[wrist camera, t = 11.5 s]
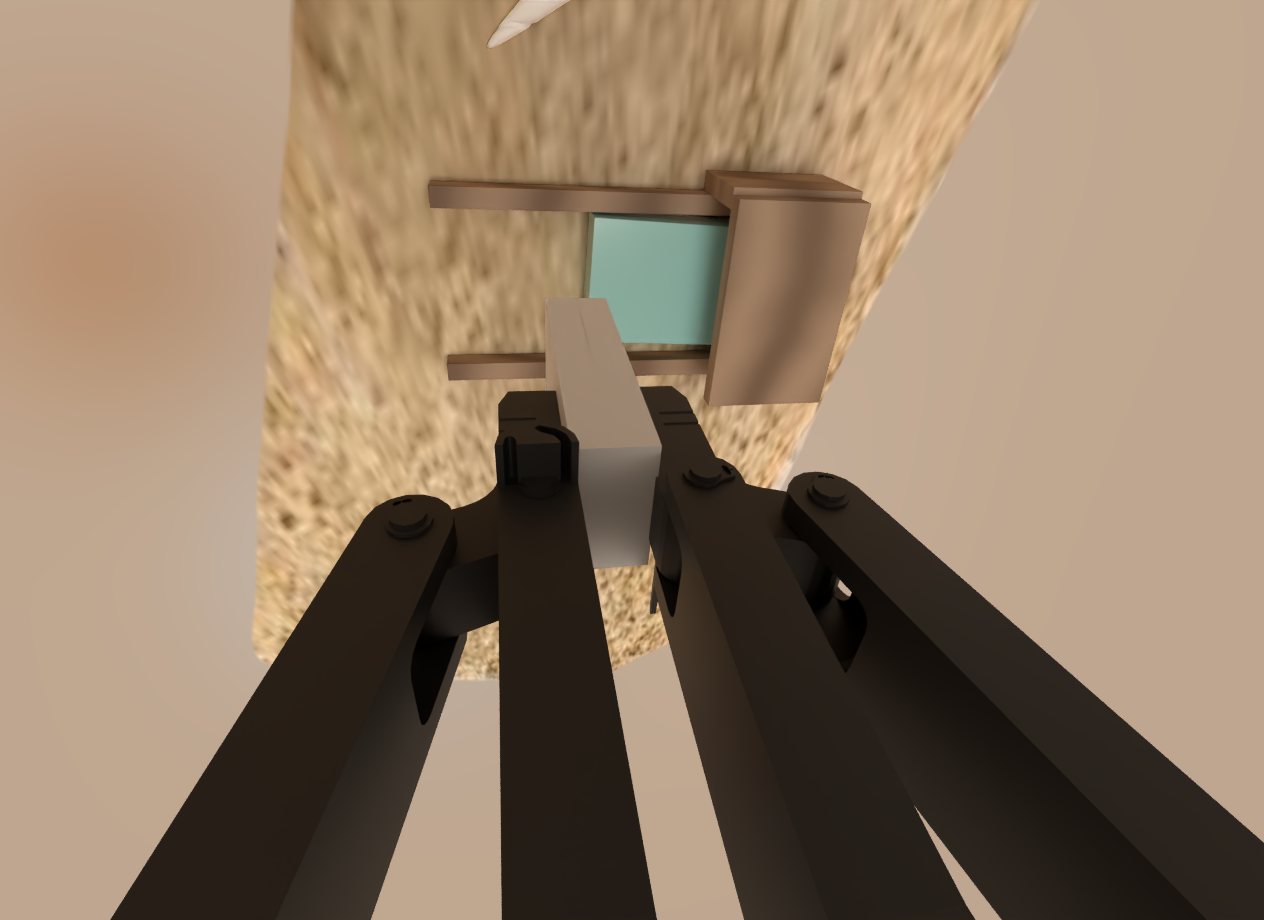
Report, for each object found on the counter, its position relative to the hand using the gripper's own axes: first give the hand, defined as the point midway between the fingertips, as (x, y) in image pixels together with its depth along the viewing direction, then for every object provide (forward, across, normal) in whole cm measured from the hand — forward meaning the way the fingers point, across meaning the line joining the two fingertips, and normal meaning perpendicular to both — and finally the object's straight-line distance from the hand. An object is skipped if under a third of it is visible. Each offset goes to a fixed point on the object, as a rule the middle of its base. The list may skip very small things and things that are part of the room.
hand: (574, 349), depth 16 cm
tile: (+27, +10, -7) cm, 30 cm away
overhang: (+27, +7, -7) cm, 28 cm away
